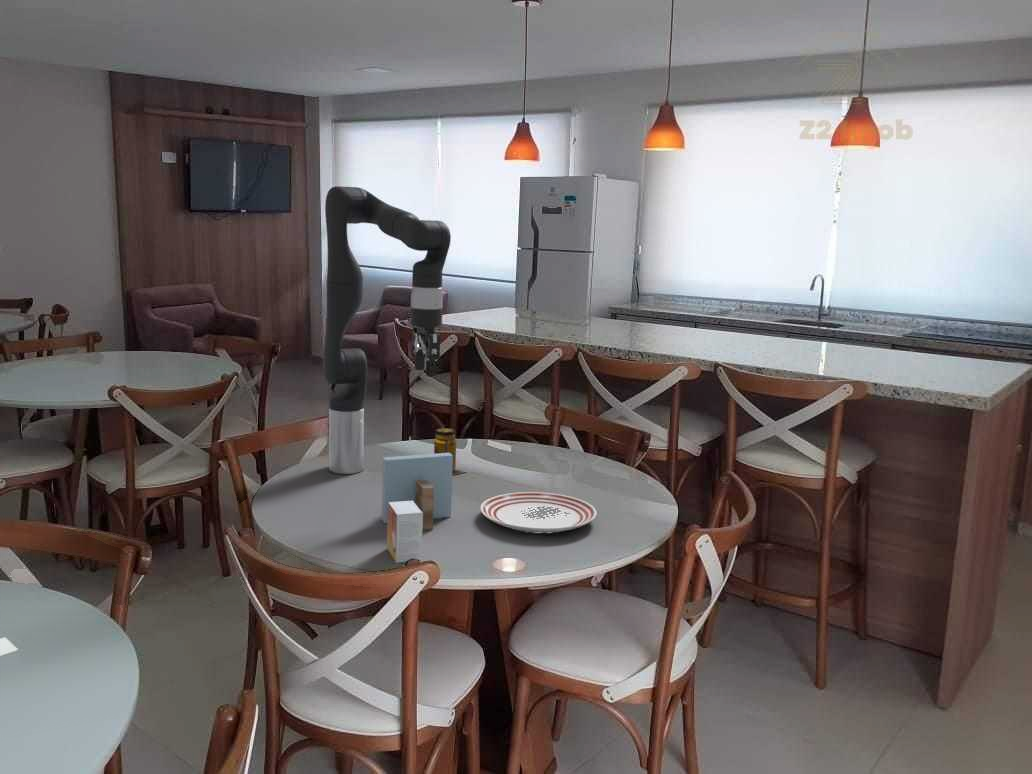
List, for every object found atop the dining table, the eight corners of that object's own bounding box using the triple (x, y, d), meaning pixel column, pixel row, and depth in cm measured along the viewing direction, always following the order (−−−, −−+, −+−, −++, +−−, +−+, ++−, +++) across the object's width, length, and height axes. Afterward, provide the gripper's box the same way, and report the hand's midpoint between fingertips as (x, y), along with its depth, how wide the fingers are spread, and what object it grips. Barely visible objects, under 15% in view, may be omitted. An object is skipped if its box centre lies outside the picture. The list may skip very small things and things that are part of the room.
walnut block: (401, 507, 212) (402, 467, 210) (411, 506, 213) (412, 467, 211) (422, 530, 197) (423, 488, 195) (432, 529, 198) (433, 487, 196)
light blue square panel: (381, 519, 203) (382, 457, 200) (447, 513, 209) (449, 452, 206) (384, 523, 201) (385, 460, 198) (450, 516, 207) (452, 455, 204)
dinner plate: (466, 505, 216) (466, 492, 215) (569, 498, 225) (570, 486, 224) (500, 547, 191) (501, 532, 190) (615, 537, 200) (616, 523, 199)
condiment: (426, 471, 242) (428, 429, 240) (451, 466, 248) (452, 424, 245) (443, 477, 237) (444, 434, 234) (467, 472, 242) (469, 430, 240)
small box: (386, 549, 186) (387, 501, 184) (412, 546, 188) (413, 499, 186) (395, 563, 179) (396, 514, 177) (421, 560, 181) (423, 512, 179)
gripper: (451, 309, 203) (449, 378, 207) (432, 302, 216) (430, 367, 219) (420, 309, 200) (418, 379, 204) (402, 302, 213) (401, 368, 216)
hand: (424, 373), depth 211 cm, fingers open, 8 cm apart
